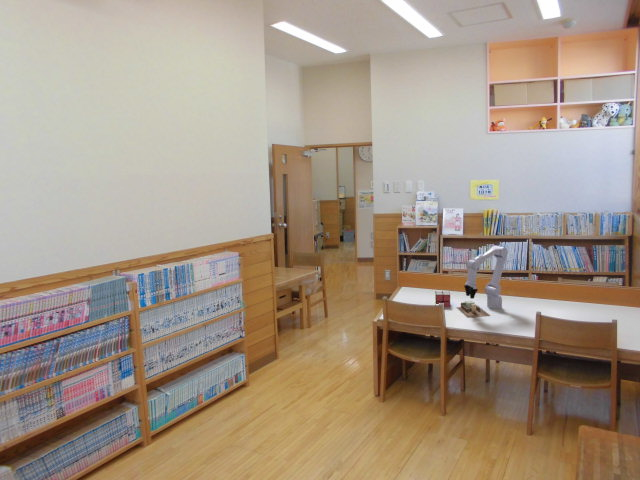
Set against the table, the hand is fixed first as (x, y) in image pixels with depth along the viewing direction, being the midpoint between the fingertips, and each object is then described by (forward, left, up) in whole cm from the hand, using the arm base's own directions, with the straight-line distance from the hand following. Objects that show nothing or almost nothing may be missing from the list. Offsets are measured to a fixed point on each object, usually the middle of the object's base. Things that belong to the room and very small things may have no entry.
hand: (469, 297), depth 318 cm
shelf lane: (-3, -2, -12) cm, 12 cm away
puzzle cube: (+12, -21, -12) cm, 27 cm away
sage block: (-3, -4, -11) cm, 12 cm away
